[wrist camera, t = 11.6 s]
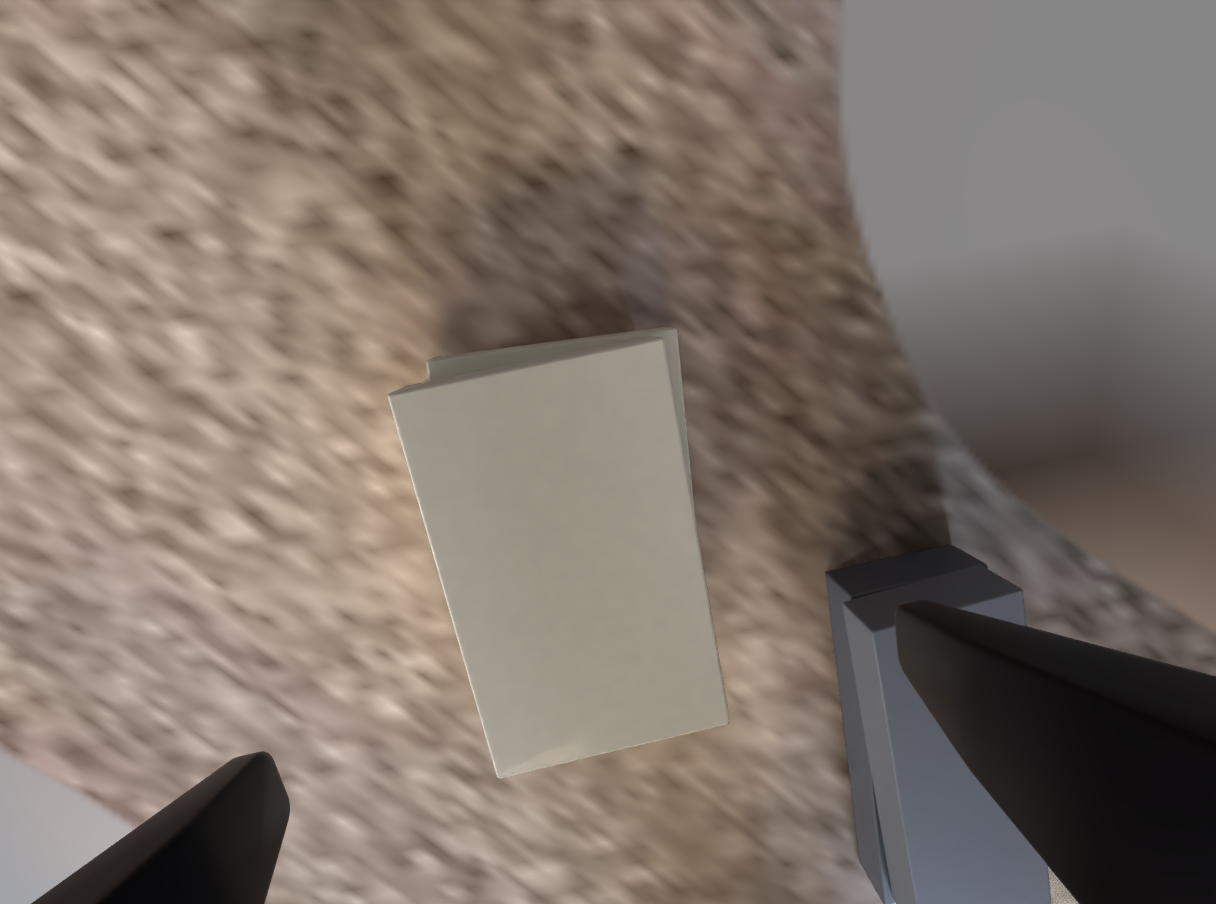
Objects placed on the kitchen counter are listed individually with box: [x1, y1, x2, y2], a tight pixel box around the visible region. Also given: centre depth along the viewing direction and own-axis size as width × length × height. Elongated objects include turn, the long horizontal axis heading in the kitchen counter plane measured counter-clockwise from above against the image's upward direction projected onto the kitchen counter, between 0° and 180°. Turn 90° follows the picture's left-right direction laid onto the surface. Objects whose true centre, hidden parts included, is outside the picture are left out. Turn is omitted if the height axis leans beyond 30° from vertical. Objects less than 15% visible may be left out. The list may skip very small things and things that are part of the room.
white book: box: [388, 336, 730, 778], centre depth 13 cm, size 9×6×1 cm, turn 11°
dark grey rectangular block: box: [825, 544, 1051, 904], centre depth 17 cm, size 11×4×3 cm, turn 11°
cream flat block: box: [423, 327, 696, 521], centre depth 15 cm, size 10×6×3 cm, turn 11°
